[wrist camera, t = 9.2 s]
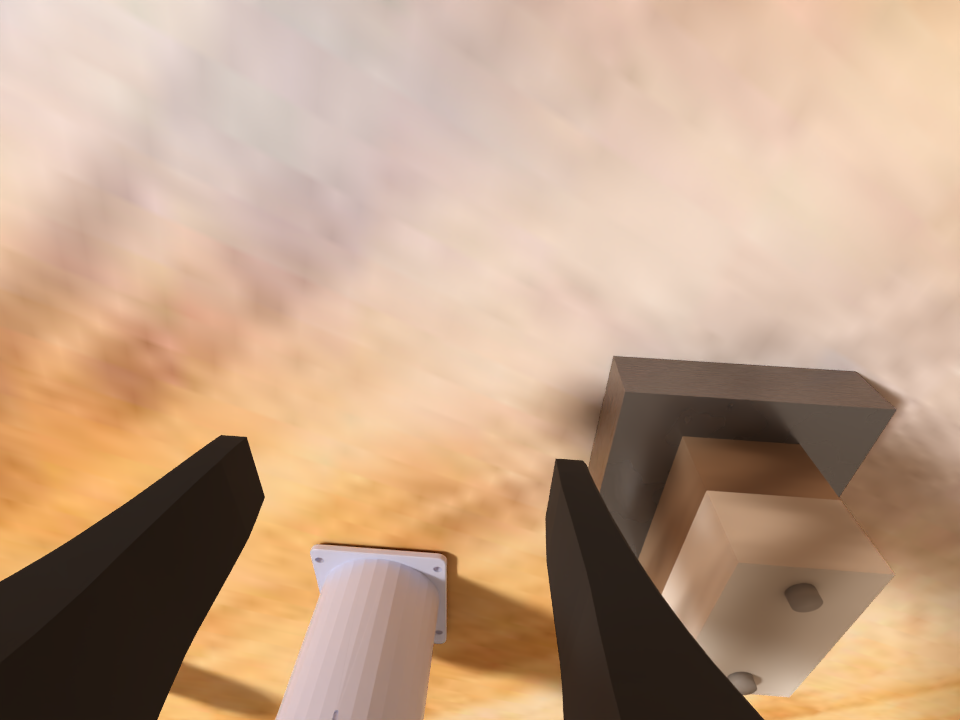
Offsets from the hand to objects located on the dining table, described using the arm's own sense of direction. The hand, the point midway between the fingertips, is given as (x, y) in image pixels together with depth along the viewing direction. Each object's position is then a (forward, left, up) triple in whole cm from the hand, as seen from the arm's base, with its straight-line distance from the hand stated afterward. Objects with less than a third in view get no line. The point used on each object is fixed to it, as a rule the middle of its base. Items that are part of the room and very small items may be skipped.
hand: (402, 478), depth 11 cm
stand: (-8, -12, -9) cm, 17 cm away
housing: (-8, -12, -7) cm, 16 cm away
